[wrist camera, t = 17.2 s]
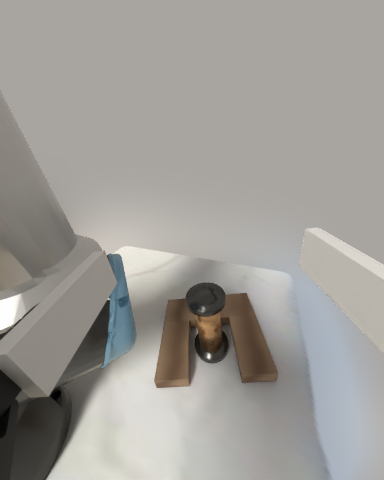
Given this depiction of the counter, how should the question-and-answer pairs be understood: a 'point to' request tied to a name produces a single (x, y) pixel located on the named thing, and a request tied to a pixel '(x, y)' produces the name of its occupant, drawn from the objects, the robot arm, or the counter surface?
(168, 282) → the counter surface
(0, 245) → the robot arm
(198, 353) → the bobbin
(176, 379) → the notched board
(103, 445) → the counter surface
